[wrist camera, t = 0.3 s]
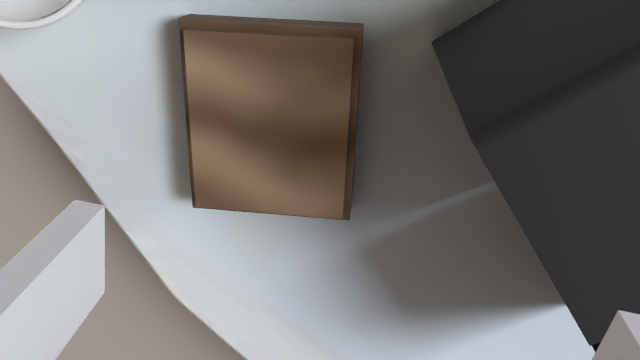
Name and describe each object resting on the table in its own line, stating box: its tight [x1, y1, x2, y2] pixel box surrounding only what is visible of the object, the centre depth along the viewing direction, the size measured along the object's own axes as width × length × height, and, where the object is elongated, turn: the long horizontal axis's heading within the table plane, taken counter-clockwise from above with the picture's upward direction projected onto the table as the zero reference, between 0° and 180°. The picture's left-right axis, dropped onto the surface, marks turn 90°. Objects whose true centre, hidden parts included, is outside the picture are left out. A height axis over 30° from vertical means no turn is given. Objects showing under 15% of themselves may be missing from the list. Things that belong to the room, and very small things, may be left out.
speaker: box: [432, 0, 640, 353], centre depth 31 cm, size 25×11×19 cm, turn 33°
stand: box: [179, 14, 364, 220], centre depth 39 cm, size 14×12×3 cm
